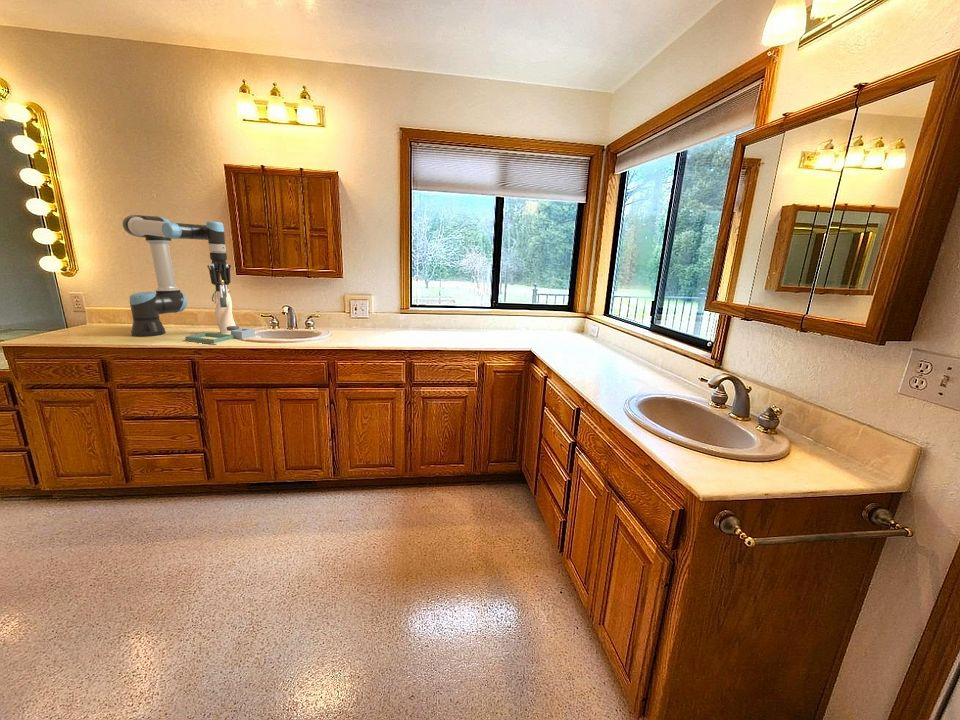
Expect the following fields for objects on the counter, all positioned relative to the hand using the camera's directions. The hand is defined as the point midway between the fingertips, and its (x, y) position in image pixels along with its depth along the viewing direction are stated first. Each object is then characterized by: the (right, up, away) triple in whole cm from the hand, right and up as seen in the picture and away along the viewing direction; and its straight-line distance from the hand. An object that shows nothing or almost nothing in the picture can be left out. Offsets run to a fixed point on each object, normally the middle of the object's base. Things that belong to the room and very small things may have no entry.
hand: (222, 296), depth 220 cm
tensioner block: (+2, -22, +11) cm, 25 cm away
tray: (-7, -24, +1) cm, 25 cm away
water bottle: (-10, -19, +20) cm, 29 cm away
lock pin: (0, -5, +1) cm, 6 cm away
